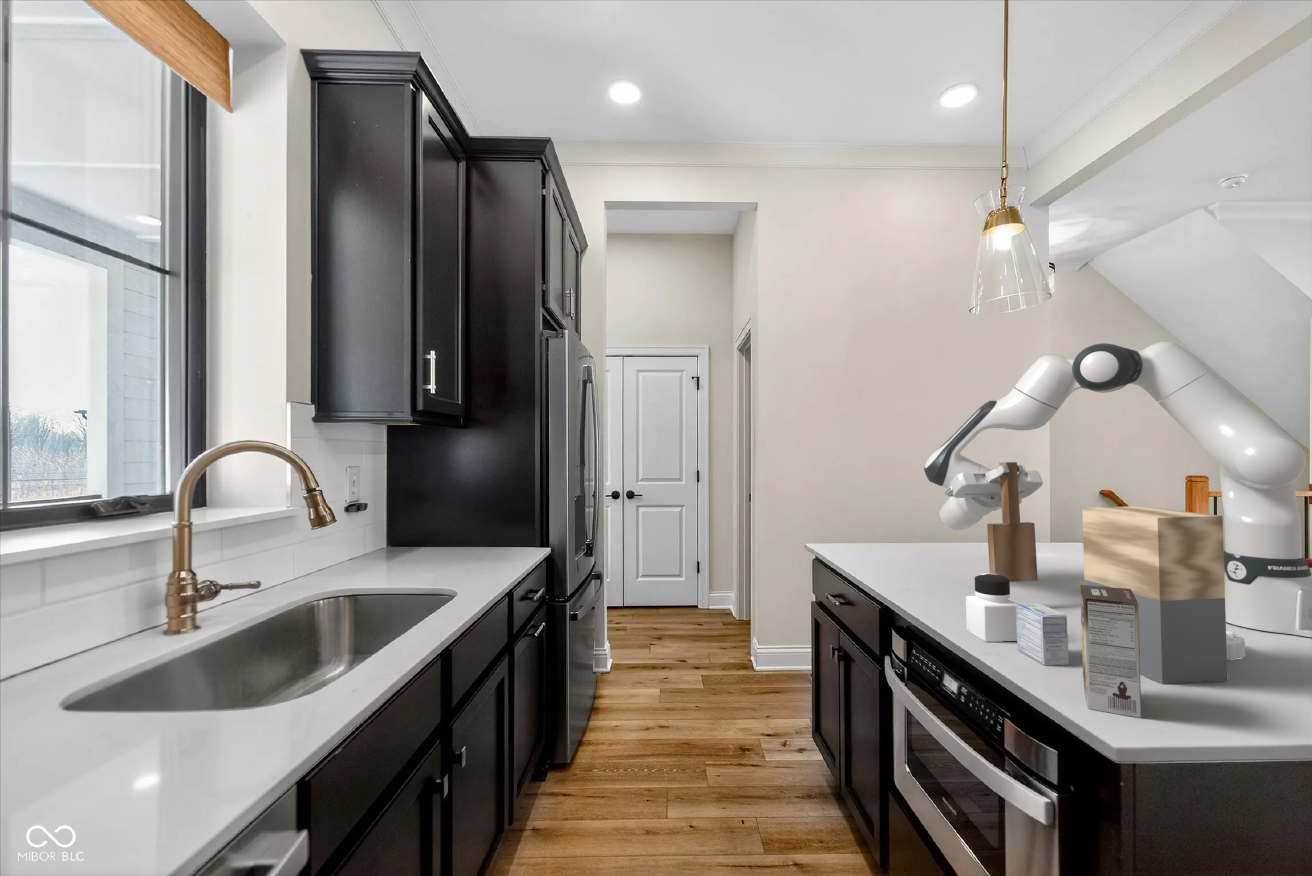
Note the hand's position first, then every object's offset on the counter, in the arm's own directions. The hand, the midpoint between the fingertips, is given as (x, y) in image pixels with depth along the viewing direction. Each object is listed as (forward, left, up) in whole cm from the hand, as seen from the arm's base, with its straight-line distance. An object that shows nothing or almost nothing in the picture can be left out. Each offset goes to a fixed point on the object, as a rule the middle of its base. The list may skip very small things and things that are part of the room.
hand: (1013, 468), depth 135 cm
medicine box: (+15, +28, -32) cm, 46 cm away
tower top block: (0, +34, -19) cm, 39 cm away
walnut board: (0, -3, -12) cm, 13 cm away
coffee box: (+18, +46, -32) cm, 59 cm away
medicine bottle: (+16, +16, -32) cm, 40 cm away
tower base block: (0, +34, -32) cm, 47 cm away
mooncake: (-16, +27, -33) cm, 45 cm away
